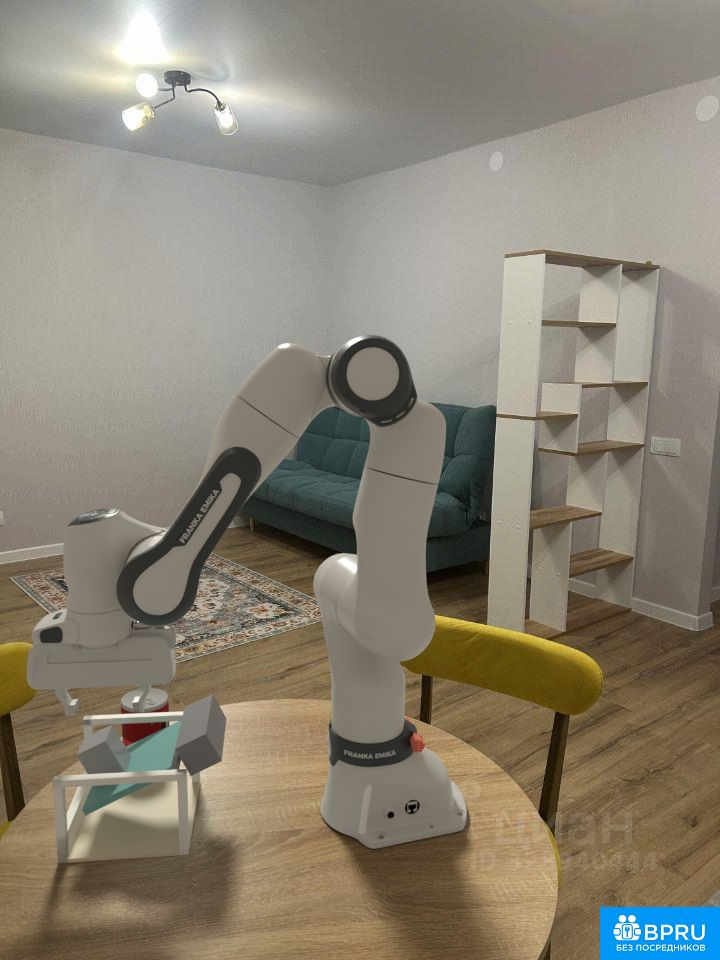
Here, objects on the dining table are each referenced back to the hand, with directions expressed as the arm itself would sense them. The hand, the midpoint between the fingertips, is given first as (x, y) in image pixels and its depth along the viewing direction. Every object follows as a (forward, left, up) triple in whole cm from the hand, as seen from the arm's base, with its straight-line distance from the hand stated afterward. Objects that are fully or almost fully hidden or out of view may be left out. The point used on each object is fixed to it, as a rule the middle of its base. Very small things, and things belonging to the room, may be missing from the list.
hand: (105, 712), depth 107 cm
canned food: (-2, -17, -18) cm, 25 cm away
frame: (-3, 0, -18) cm, 18 cm away
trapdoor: (-8, 0, -9) cm, 12 cm away
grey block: (-1, 0, -10) cm, 10 cm away
